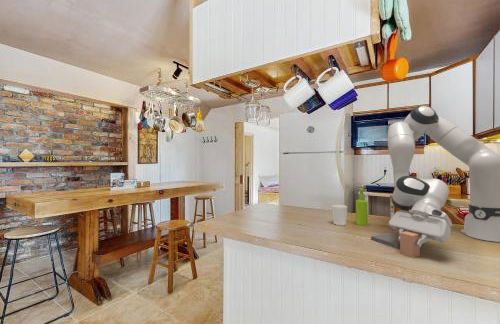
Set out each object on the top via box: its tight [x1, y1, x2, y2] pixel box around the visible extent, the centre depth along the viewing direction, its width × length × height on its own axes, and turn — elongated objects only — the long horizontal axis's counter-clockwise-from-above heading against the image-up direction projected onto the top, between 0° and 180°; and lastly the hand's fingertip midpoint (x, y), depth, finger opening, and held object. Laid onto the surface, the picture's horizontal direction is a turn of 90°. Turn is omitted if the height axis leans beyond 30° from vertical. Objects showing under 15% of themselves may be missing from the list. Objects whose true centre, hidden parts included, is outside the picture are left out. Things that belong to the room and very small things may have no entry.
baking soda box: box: [389, 194, 410, 220], centre depth 131 cm, size 10×6×16 cm
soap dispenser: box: [355, 187, 369, 227], centre depth 134 cm, size 6×7×20 cm
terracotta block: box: [399, 231, 421, 258], centre depth 91 cm, size 4×4×8 cm
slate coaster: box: [370, 232, 400, 249], centre depth 106 cm, size 12×12×2 cm
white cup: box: [331, 204, 348, 226], centre depth 135 cm, size 8×8×10 cm
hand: (408, 243), depth 91 cm, fingers closed on terracotta block, 4 cm apart
